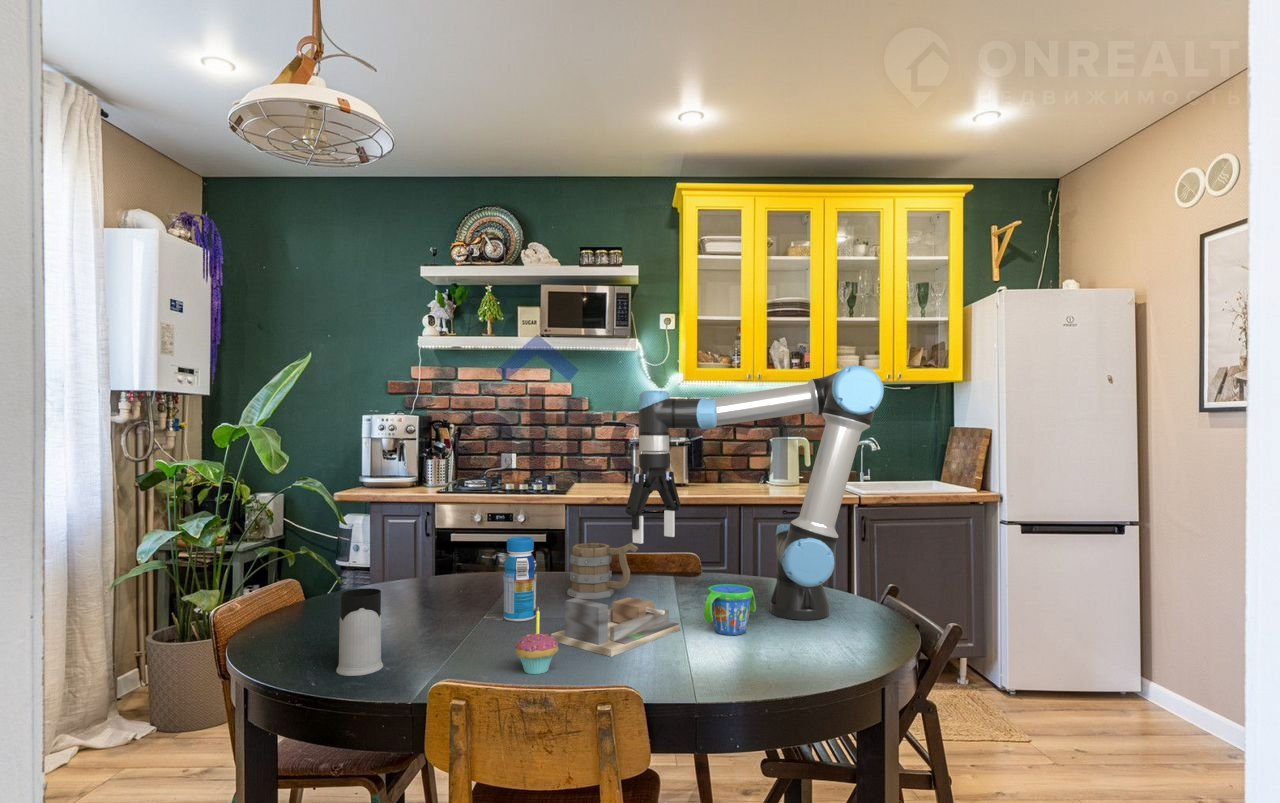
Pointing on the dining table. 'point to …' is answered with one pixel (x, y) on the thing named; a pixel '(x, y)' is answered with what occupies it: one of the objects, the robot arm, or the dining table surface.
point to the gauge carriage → (632, 609)
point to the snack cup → (729, 608)
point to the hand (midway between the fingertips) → (654, 539)
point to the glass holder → (360, 632)
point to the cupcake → (536, 650)
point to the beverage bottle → (520, 580)
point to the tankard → (596, 570)
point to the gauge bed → (609, 628)
